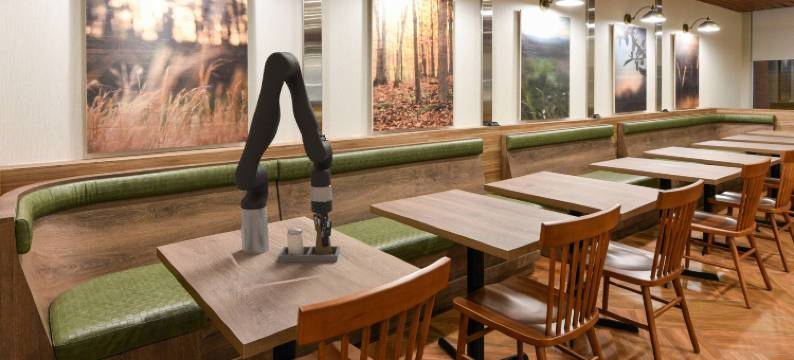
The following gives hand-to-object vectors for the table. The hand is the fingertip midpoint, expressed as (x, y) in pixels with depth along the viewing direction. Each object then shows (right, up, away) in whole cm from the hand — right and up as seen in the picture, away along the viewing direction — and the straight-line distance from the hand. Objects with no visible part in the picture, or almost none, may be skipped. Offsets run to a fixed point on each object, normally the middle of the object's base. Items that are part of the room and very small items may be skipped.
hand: (323, 244), depth 194 cm
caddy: (-5, -5, +1) cm, 7 cm away
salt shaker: (-10, -4, +1) cm, 11 cm away
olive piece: (0, -3, +1) cm, 3 cm away
